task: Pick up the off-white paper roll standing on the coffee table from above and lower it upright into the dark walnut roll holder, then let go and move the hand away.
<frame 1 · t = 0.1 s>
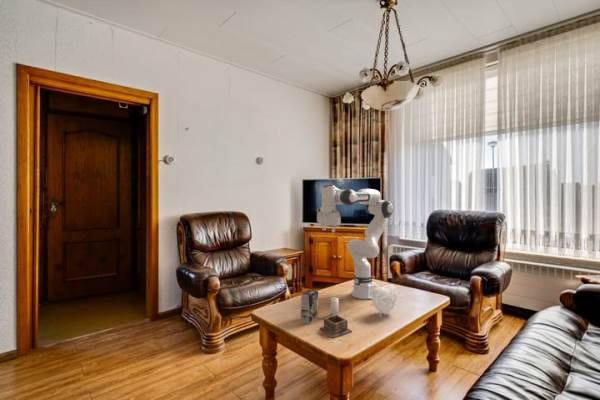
hand: (328, 231, 190), 48 cm above the table, tool pointing down, fingers open, 8 cm apart
walnut roll holder: (335, 330, 156), on the table
coffee box: (309, 320, 169), on the table
decorative heart: (384, 314, 177), on the table
paper roll: (334, 315, 175), on the table
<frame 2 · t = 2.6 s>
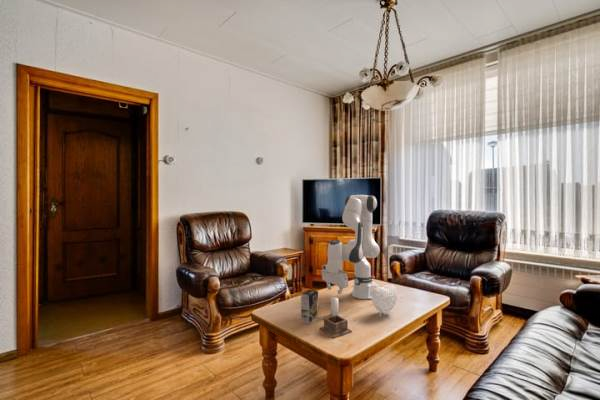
hand: (334, 291, 175), 14 cm above the table, tool pointing down, fingers open, 8 cm apart
nothing on the table moved.
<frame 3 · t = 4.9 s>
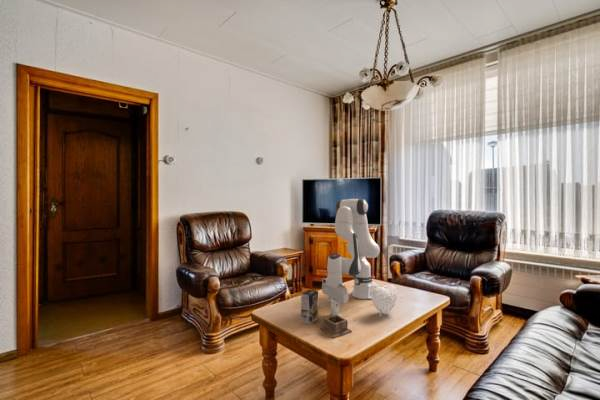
hand: (334, 305, 175), 6 cm above the table, tool pointing down, fingers closed on paper roll, 4 cm apart
paper roll: (334, 315, 175), on the table, touching gripper
everything else where it was.
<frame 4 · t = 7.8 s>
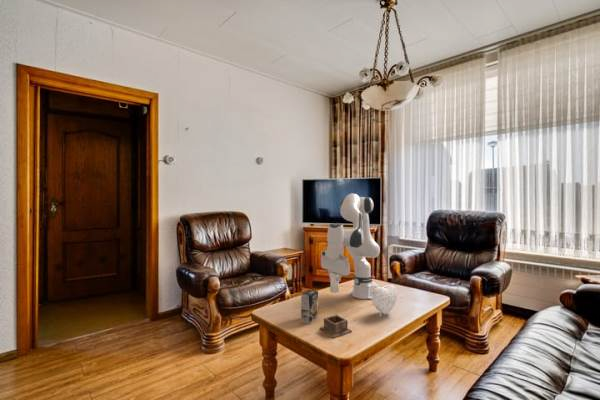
hand: (334, 279, 157), 26 cm above the table, tool pointing down, fingers closed on paper roll, 4 cm apart
paper roll: (334, 291, 157), point 20 cm above the table, touching gripper
everything else where it was.
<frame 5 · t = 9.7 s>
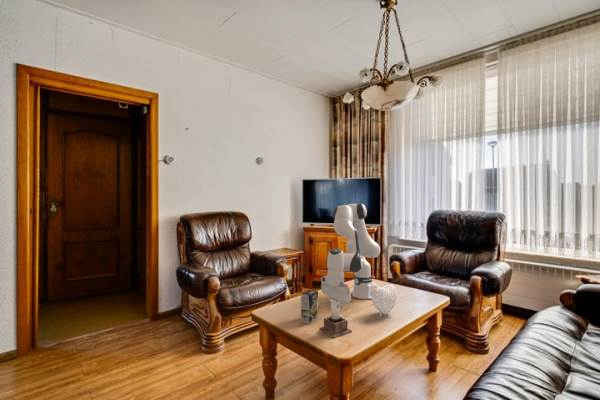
hand: (335, 306, 156), 13 cm above the table, tool pointing down, fingers closed on paper roll, 4 cm apart
paper roll: (335, 317, 156), point 7 cm above the table, touching gripper
everything else where it was.
when the fingers open (8 cm above the table, at t = 11.0 s): paper roll drops 1 cm, resting on walnut roll holder.
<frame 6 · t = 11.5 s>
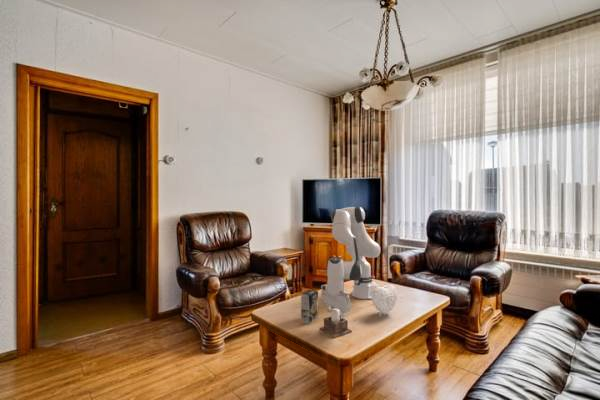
hand: (335, 315, 156), 8 cm above the table, tool pointing down, fingers open, 8 cm apart
paper roll: (335, 329, 156), point 1 cm above the table, touching walnut roll holder
everything else where it was.
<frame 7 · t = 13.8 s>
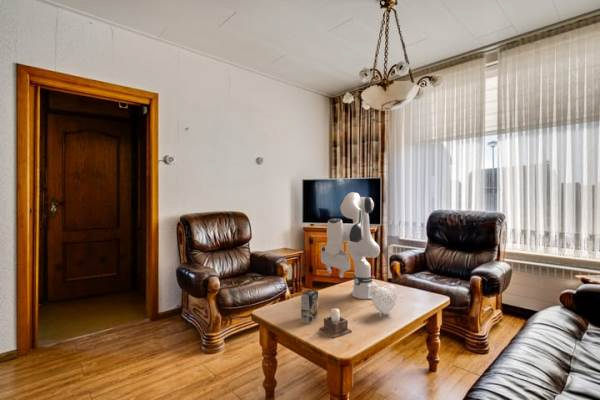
hand: (335, 275, 157), 29 cm above the table, tool pointing down, fingers open, 8 cm apart
nothing on the table moved.
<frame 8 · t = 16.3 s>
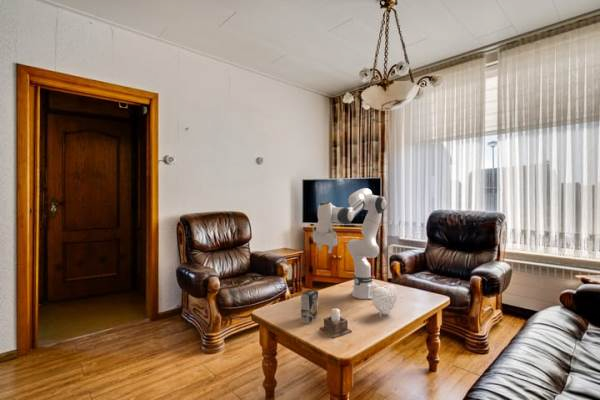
hand: (324, 251, 179), 37 cm above the table, tool pointing down, fingers open, 8 cm apart
nothing on the table moved.
at the end: paper roll 0.0 cm off-centre on the walnut roll holder, point 0.8 cm above the walnut roll holder's base; paper roll tilted 1°; the gripper is holding nothing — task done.
